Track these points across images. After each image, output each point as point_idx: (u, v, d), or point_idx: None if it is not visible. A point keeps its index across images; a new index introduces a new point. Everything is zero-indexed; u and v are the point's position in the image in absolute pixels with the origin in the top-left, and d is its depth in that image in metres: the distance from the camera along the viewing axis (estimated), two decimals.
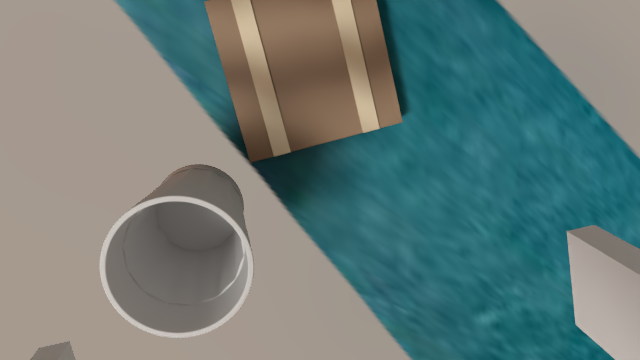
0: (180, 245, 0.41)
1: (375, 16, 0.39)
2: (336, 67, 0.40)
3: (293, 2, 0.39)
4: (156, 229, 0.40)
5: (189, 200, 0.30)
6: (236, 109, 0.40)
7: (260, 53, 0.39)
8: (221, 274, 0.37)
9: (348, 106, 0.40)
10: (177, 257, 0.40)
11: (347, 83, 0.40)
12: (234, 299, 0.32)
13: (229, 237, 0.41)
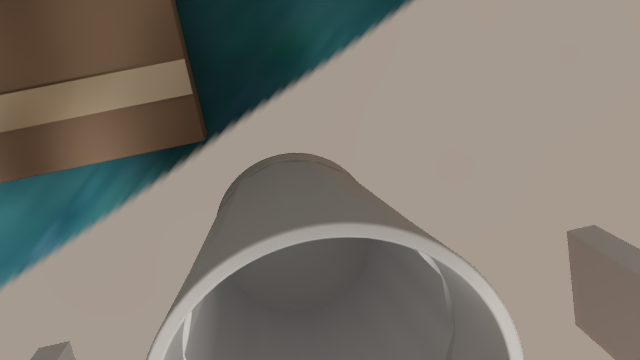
0: (356, 275, 0.23)
1: None
2: None
3: None
4: (319, 318, 0.22)
5: None
6: (97, 160, 0.21)
7: None
8: None
9: None
10: (372, 293, 0.21)
11: None
12: None
13: None
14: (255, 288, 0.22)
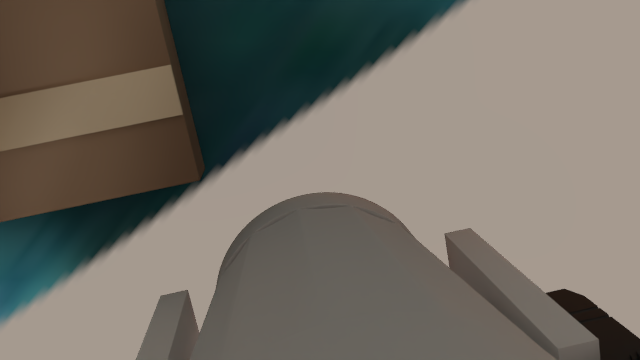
0: None
1: None
2: None
3: None
4: None
5: None
6: (47, 208, 0.14)
7: None
8: None
9: None
10: None
11: None
12: None
13: None
14: None
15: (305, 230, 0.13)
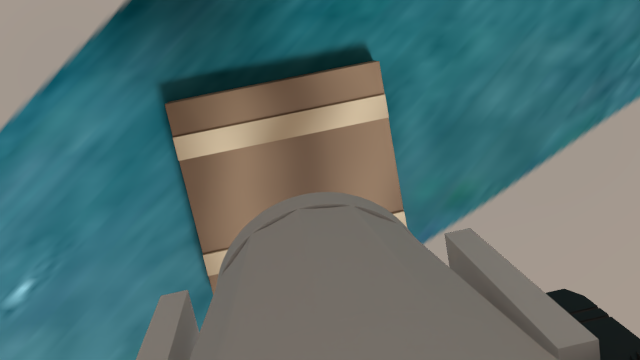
0: None
1: (236, 95, 0.30)
2: (300, 149, 0.30)
3: (217, 200, 0.31)
4: None
5: None
6: None
7: None
8: None
9: (352, 135, 0.31)
10: None
11: (322, 135, 0.30)
12: None
13: None
14: None
15: (305, 229, 0.13)
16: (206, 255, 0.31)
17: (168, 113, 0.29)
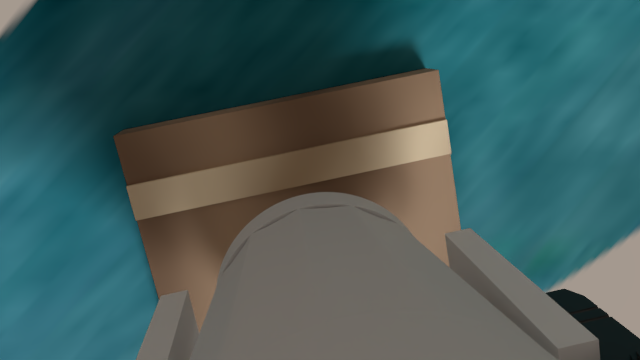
0: None
1: (223, 122, 0.19)
2: None
3: (195, 277, 0.21)
4: None
5: None
6: None
7: None
8: None
9: (396, 179, 0.20)
10: None
11: (351, 180, 0.20)
12: None
13: None
14: None
15: (305, 229, 0.13)
16: None
17: (119, 149, 0.19)
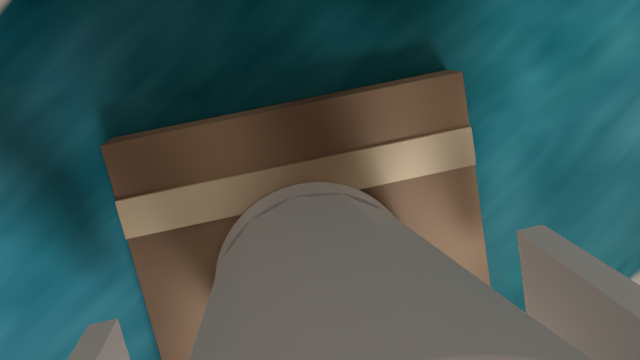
0: None
1: (223, 130, 0.17)
2: None
3: (192, 301, 0.19)
4: None
5: None
6: None
7: None
8: None
9: (414, 193, 0.18)
10: None
11: None
12: None
13: None
14: None
15: (301, 213, 0.14)
16: None
17: (107, 160, 0.17)
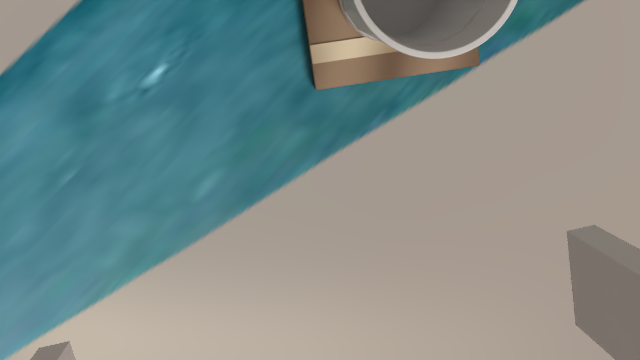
0: (426, 14, 0.36)
1: None
2: None
3: None
4: (402, 36, 0.36)
5: None
6: (423, 72, 0.39)
7: (372, 40, 0.38)
8: None
9: None
10: (437, 13, 0.35)
11: None
12: None
13: None
14: None
15: None
16: (313, 45, 0.38)
17: None
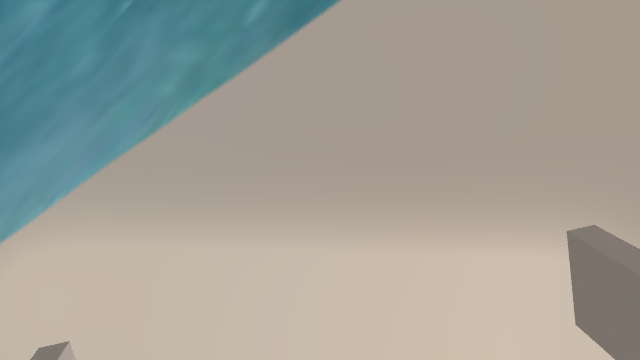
0: None
1: None
2: None
3: None
4: None
5: None
6: None
7: None
8: None
9: None
10: None
11: None
12: None
13: None
14: None
15: None
16: None
17: None
